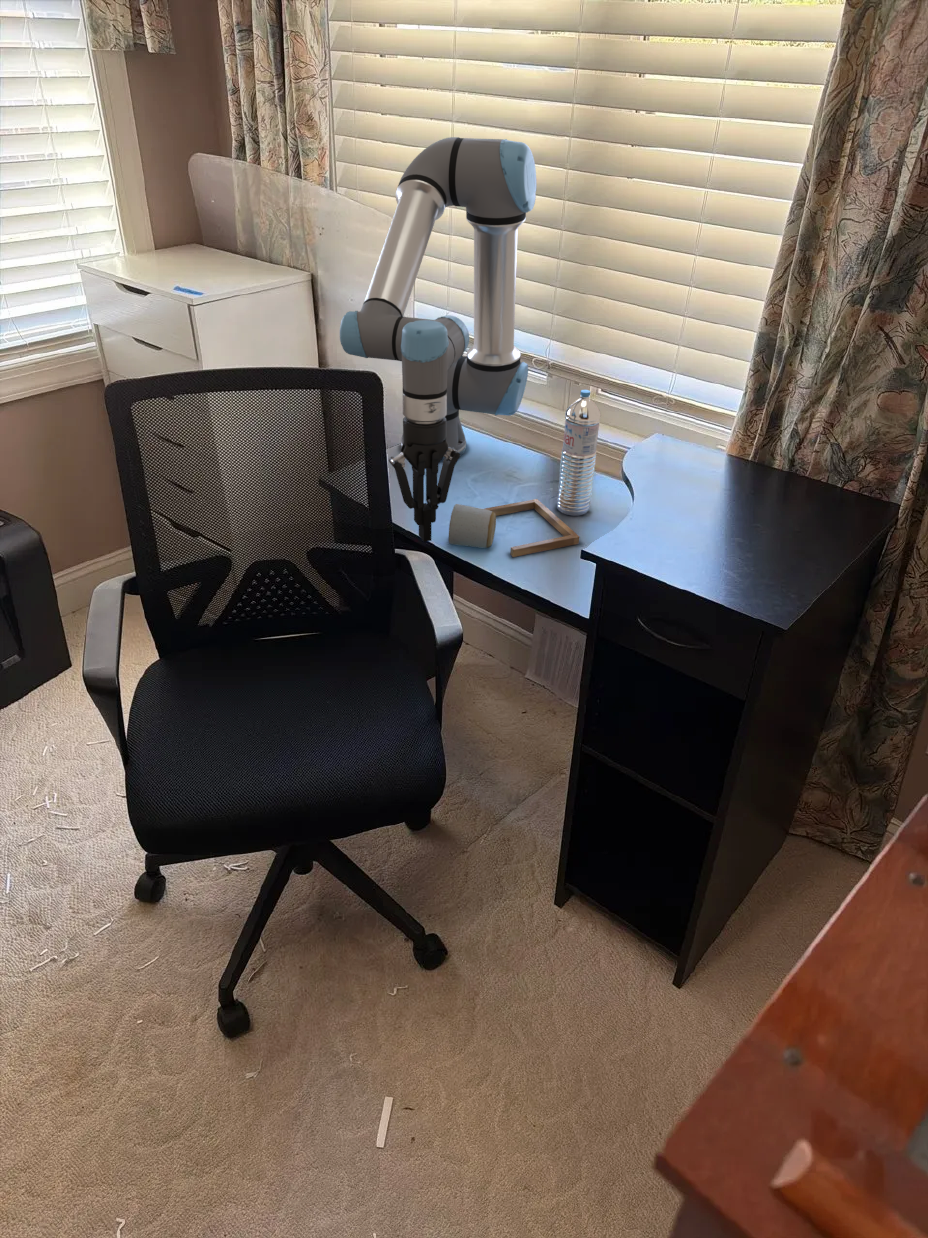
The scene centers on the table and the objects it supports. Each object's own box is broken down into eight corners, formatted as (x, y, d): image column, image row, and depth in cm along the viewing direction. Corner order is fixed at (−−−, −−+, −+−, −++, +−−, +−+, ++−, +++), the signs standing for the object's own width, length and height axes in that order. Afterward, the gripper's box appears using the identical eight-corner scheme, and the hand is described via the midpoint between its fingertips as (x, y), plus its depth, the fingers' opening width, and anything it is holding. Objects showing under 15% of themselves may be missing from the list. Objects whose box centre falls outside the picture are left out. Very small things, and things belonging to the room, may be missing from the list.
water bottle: (555, 501, 179) (566, 384, 165) (588, 502, 178) (602, 385, 164) (556, 516, 173) (568, 396, 159) (590, 517, 173) (605, 398, 159)
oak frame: (474, 517, 172) (474, 510, 171) (536, 505, 177) (537, 498, 176) (512, 557, 159) (513, 549, 158) (578, 543, 164) (579, 536, 163)
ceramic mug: (490, 555, 159) (492, 518, 155) (447, 551, 160) (448, 514, 156) (498, 530, 168) (500, 494, 163) (457, 526, 169) (458, 490, 165)
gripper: (396, 429, 141) (399, 553, 154) (468, 419, 145) (465, 541, 158) (381, 413, 146) (385, 535, 159) (451, 404, 151) (449, 523, 164)
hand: (425, 537), depth 159 cm, fingers closed
